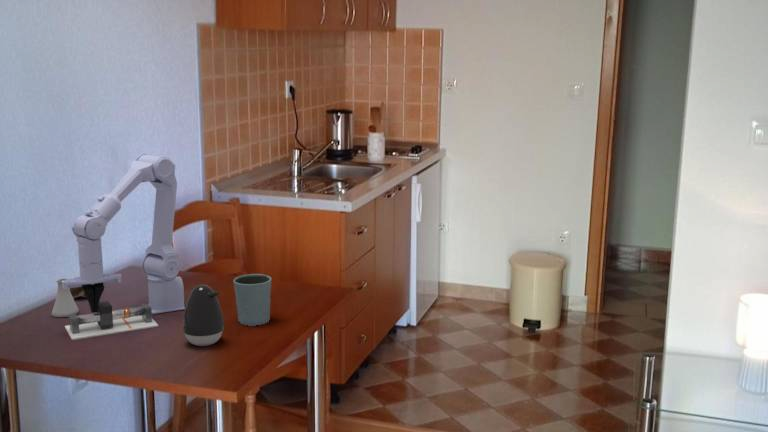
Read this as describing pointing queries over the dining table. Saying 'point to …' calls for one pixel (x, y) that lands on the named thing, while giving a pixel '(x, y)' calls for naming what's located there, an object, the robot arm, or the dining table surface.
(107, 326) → the dark grey sliding block
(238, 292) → the grey-green cup
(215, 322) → the dark grey penguin toy
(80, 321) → the linear slide rail
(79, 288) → the mushroom
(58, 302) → the flask
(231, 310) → the dining table surface
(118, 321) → the base board
